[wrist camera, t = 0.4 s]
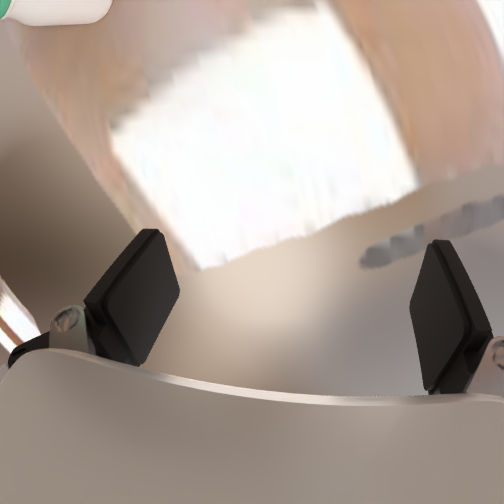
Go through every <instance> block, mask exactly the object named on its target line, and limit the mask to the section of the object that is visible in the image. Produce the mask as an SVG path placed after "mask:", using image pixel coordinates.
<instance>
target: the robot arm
mask: <svg viewBox="0 0 504 504" xmlns="http://www.w3.org/2000/svg"><path fill="white" fill-rule="evenodd" d="M179 293H180V288H179V285H178V282H177V278H176V275H175V272H174V269H173V265H172V262H171V259H170V255H169V252H168V248H167V245H166V241H165V238H164V235H163V234H162V233H160V231H159V230H158V229H142V230H141V231H140V232H139V233H138V235H137V236H136V237H135V238H134V239H133V240H132V241H131V243H130V244H129V245H128V246H127V247H126V248H125V250H124V251H123V252H122V253H121V254H120V255H119V257H118V258H117V259H116V260H115V261H114V263H113V264H112V265H111V266H110V267H109V269H108V270H107V271H106V272H105V274H104V275H103V276H102V277H101V279H100V280H99V281H98V282H97V284H96V285H95V286H94V287H93V289H92V290H91V291H90V293H89V294H88V295H87V297H86V298H85V299H84V300H83V301H84V303H85V305H86V308H85V309H84V310H83V308H82V307H81V306H78V305H70V306H67V307H65V308H63V309H61V310H60V311H58V312H57V313H56V314H55V316H54V317H53V318H52V320H51V323H50V331H49V332H46V333H44V334H42V335H40V336H38V337H36V338H33V339H31V340H29V341H27V342H25V343H23V344H21V345H19V346H17V347H16V348H14V349H13V351H12V353H11V354H10V357H9V360H8V365H7V364H6V363H5V364H3V365H2V366H1V367H0V504H504V337H503V336H498V337H495V338H494V337H493V334H492V332H491V331H492V329H491V326H490V323H489V321H488V319H487V316H486V314H485V311H484V309H483V306H482V304H481V302H480V300H479V297H478V295H477V293H476V291H475V289H474V286H473V284H472V282H471V280H470V278H469V276H468V274H467V272H466V270H465V268H464V266H463V264H462V262H461V260H460V258H459V257H458V255H457V253H456V251H455V249H454V248H453V246H452V244H451V242H450V241H449V240H436V239H435V240H433V242H432V244H431V243H429V244H428V246H427V249H426V253H425V256H424V260H423V263H422V267H421V270H420V273H419V276H418V280H417V283H416V286H415V289H414V292H413V295H412V298H411V301H410V307H409V308H410V315H411V319H412V323H413V328H414V333H415V338H416V343H417V348H418V354H419V359H420V365H421V371H422V379H423V386H424V389H425V390H426V391H427V390H428V393H429V395H422V396H393V397H392V396H391V397H347V396H346V397H344V396H323V395H322V396H321V395H307V394H294V393H283V392H273V391H264V390H256V389H248V388H241V387H233V386H227V385H221V384H215V383H209V382H204V381H198V380H193V379H188V378H183V377H178V376H174V375H169V374H165V373H160V372H156V371H151V370H147V369H143V368H140V367H139V366H140V364H143V363H144V362H145V361H146V359H147V356H148V355H149V353H150V351H151V349H152V347H153V345H154V342H155V341H156V339H157V337H158V335H159V333H160V331H161V329H162V327H163V325H164V323H165V322H166V320H167V318H168V316H169V314H170V312H171V310H172V308H173V306H174V304H175V303H176V301H177V299H178V296H179Z"/></svg>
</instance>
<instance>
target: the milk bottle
mask: <svg viewBox="0 0 504 504" xmlns="http://www.w3.org/2000/svg"><path fill="white" fill-rule="evenodd" d="M112 2H113V0H0V20H3V19H5V18H11V19H14V20H17V21H19V22H20V23H23V24H25V25H30V26H49V25H72V24H92V23H94V22H97V21H98V20H100V19H101V18H102V17H103V16H105V15H106V13H107V12H108V11H109V9H110V7H111V5H112Z"/></svg>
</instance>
